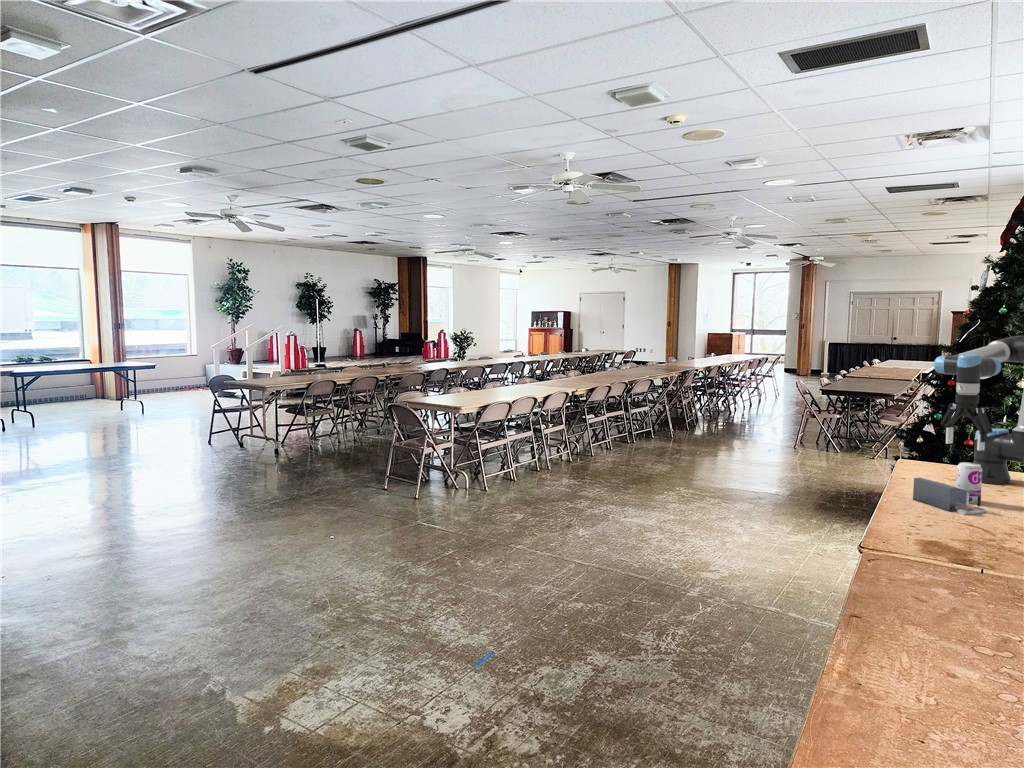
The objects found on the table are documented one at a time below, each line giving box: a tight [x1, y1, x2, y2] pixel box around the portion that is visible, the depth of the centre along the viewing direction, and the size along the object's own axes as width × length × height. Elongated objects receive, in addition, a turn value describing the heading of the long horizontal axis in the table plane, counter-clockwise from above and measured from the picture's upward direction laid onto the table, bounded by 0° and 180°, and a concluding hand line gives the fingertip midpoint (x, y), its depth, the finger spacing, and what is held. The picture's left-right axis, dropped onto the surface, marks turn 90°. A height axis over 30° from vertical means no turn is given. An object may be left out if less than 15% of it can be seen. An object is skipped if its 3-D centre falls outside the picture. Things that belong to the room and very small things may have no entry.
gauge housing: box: [912, 477, 986, 516], centre depth 249 cm, size 12×21×9 cm, turn 15°
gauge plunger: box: [934, 480, 982, 508], centre depth 250 cm, size 1×19×6 cm, turn 15°
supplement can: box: [955, 461, 983, 505], centre depth 254 cm, size 8×8×15 cm
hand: (964, 446), depth 253 cm, fingers open, 13 cm apart
